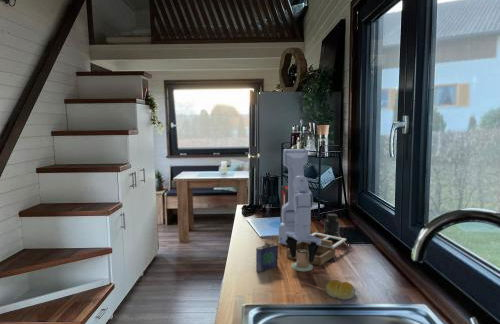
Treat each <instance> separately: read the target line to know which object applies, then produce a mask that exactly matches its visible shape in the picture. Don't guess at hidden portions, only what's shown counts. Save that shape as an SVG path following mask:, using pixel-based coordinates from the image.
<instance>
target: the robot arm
mask: <svg viewBox="0 0 500 324" xmlns="http://www.w3.org/2000/svg"><path fill="white" fill-rule="evenodd" d="M308 155H309V154H308V150H307V148H284V149H283V152H282V164H283V166H284V167H287V171H288V172H287V173H288V176H287V177H288V178H287V179H288V180H287V181H288V182H287V183H288V184H287V185H288V202H287V203H286V204H285V205H283V206H282V212H281V220H282V223H281V222H280V224H279V227H278V242H277V244H282V245H286V246H287V247H288V248H289V249H290V253H291V257H292V258H291V259H293V258H294V257H295V256H296V245H297V244H298V243H300V242H301V241H306V242H310V243H311V244H309V245H308V249H309V262H310V263H311V262H313V261H314V257H315V254H316V251H317V249H318V247H319V245H320V244H321V239H322V238H321V237H317V236H316V235H315V236H312V235H311V222H312V221H311V217H312V216H311V215H312V214H311V213H312V211H311V209H312V207H313V204H314V203H313V201H314V198H313V193H312V191H311V190H310V188H309V187H310V186H309V182H308V178H307V177H306V176H305V171H304V166H305V165H306V164H307V162H308V160H309V158H308V157H309V156H308ZM311 264H312V263H311Z"/></svg>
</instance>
